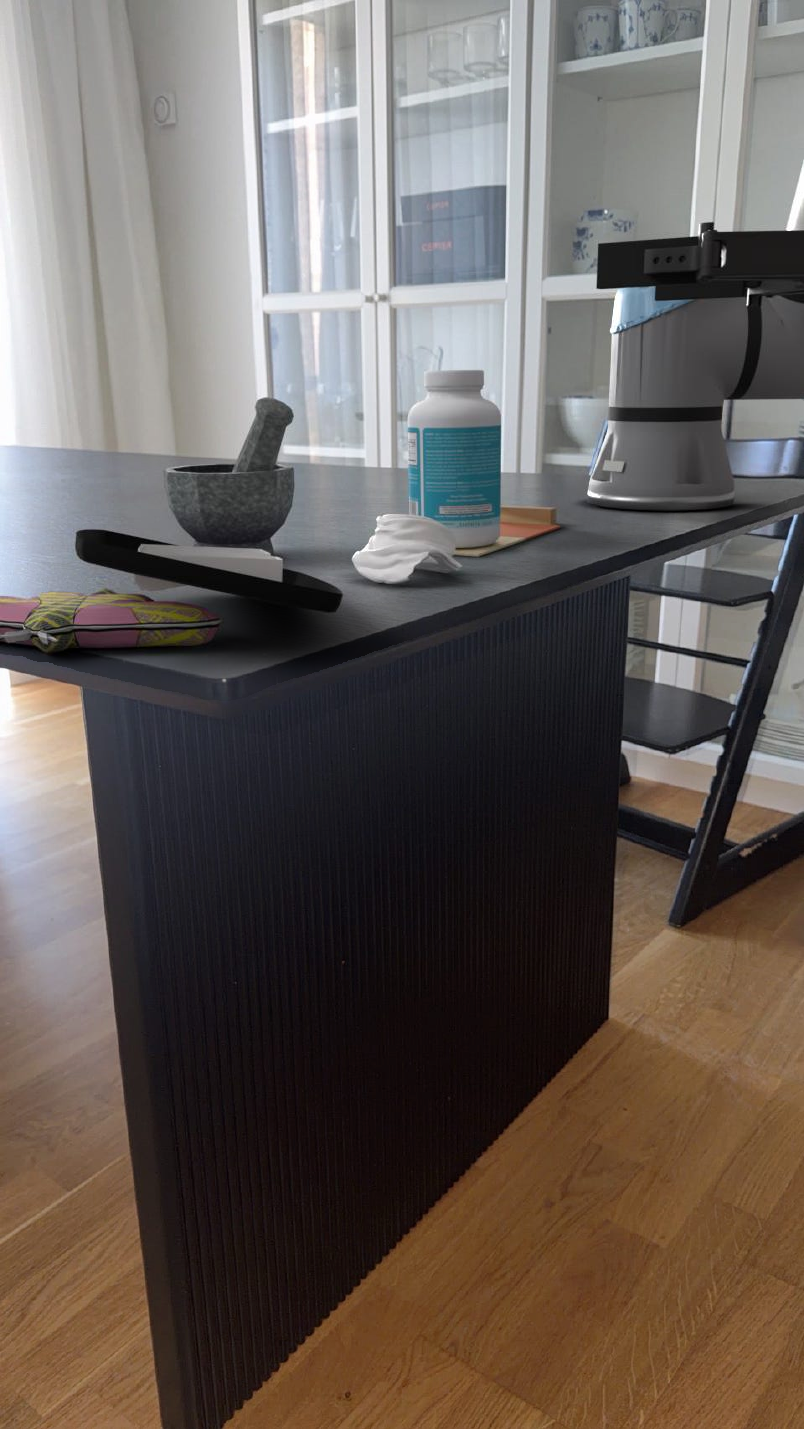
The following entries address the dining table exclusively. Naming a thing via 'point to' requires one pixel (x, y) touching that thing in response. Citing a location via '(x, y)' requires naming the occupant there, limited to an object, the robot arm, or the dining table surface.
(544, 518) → the stop bar
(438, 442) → the pill bottle
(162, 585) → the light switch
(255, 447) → the mortar and pestle
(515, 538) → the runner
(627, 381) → the robot arm
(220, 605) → the dining table surface
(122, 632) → the patterned fabric pouch
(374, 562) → the white folded cloth ring
